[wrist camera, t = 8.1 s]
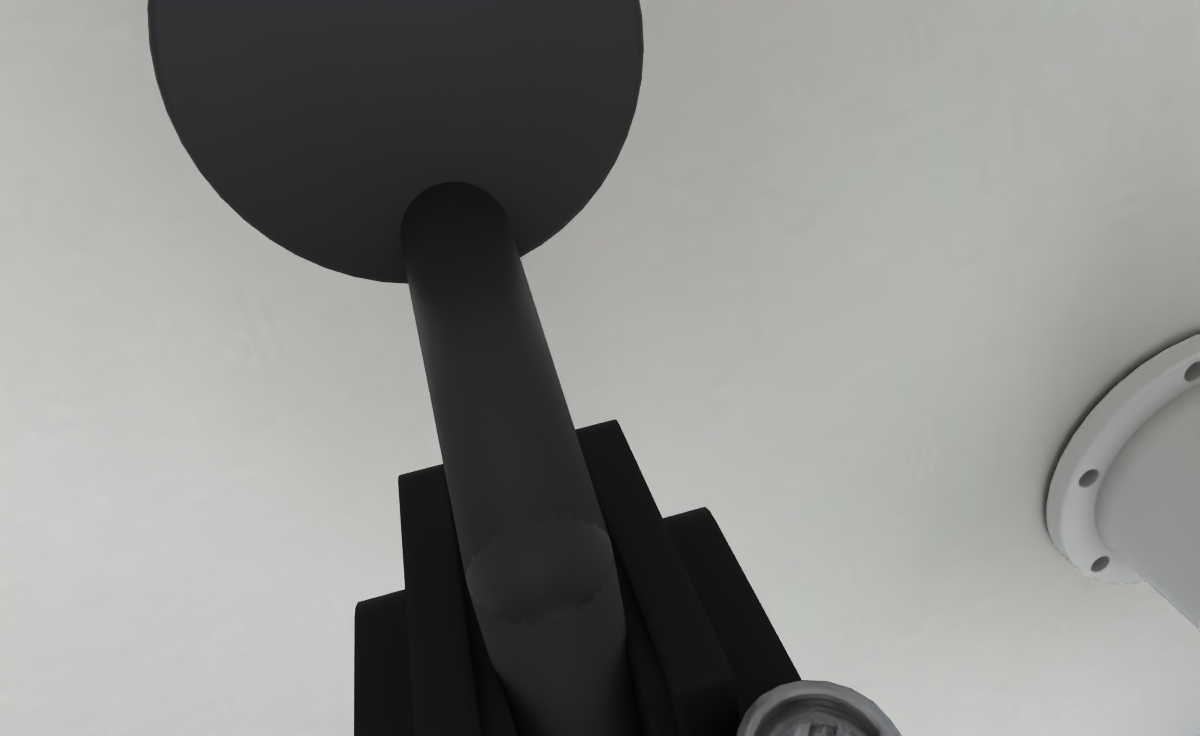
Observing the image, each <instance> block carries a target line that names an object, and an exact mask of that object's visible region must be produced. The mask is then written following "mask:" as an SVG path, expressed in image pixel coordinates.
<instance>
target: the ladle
mask: <svg viewBox="0 0 1200 736" xmlns="http://www.w3.org/2000/svg"><path fill="white" fill-rule="evenodd" d="M147 9H148V28H149V45H150V50H151V55H152V60H153V66H154V71H155V76H156V80H157V83H158V86H159V89H160V93H161V96H162V99H163V102H164V105H165V108H166V111H167V113H168V115H169V117H170V120H171V122H172V124H173V126H174V128H175V130H176V132H177V134H178V136H179V139H180V141H181V143H182V144H183V146H184V148H185V149H186V151H187V152H188V154H189V155H190V157H191V159H192V160H193V162H194V163H195V165H196V166H197V168H198V170H199V171H200V173H201V174H202V175H203V176H204V177H205V179H206V180H207V181H208V182H209V184H210V185H211V186H212V187H213V188H214V190H215V191H216V192H217V193H218V195H219V196H220V197H221V198H222V199H223V200H224V201H225V202H226V203H227V204H228V205H229V206H230V207H231V208H232V209H233V210H234V211H235V212H237V213H238V214H239V215H240V216H241V217H242V218H243V219H244V220H245V221H246V222H248V223H249V224H250V225H252V226H253V227H254V228H255V229H257V230H258V231H259V232H261V233H262V234H263V235H265V236H266V237H267V238H269V239H270V240H272V241H273V242H275V243H277V244H278V245H280V246H282V247H284V248H285V249H287V250H289V251H290V252H292V253H294V254H295V255H297V256H300V257H302V258H304V259H306V260H309V261H311V262H313V263H315V264H318V265H320V266H322V267H324V268H328V269H331V270H334V271H337V272H340V273H344V274H347V275H350V276H353V277H359V278H364V279H369V280H375V281H380V282H391V283H406V284H409V289H410V294H411V299H412V304H413V309H414V315H415V320H416V325H417V330H418V335H419V340H420V346H421V351H422V356H423V361H424V366H425V371H426V376H427V382H428V387H429V392H430V397H431V402H432V407H433V413H434V418H435V423H436V428H437V433H438V438H439V444H440V449H441V454H442V459H443V464H444V469H445V474H446V480H447V485H448V490H449V495H450V500H451V505H452V511H453V516H454V521H455V526H456V531H457V536H458V542H459V547H460V552H461V557H462V562H463V567H464V573H465V578H466V582H467V586H468V590H469V593H470V596H471V600H472V603H473V606H474V609H475V613H476V616H477V619H478V622H479V625H480V629H481V632H482V635H483V638H484V642H485V645H486V648H487V651H488V654H489V658H490V661H491V663H492V665H493V668H494V669H495V671H496V672H497V673H498V675H499V676H500V679H501V682H502V686H503V689H504V692H505V695H506V699H507V702H508V705H509V708H510V712H511V715H512V718H513V721H514V725H515V728H516V731H517V735H518V736H643V731H642V726H641V721H640V715H639V710H638V705H637V699H636V694H635V689H634V683H633V678H632V673H631V667H630V662H629V657H628V651H627V646H626V641H625V638H626V630H627V628H626V620H625V614H624V609H623V603H622V598H621V592H620V587H619V582H618V576H617V571H616V565H615V560H614V554H613V549H612V545H611V541H610V538H609V535H608V531H607V528H606V525H605V522H604V519H603V516H602V513H601V510H600V506H599V503H598V500H597V497H596V494H595V491H594V488H593V485H592V482H591V478H590V475H589V472H588V469H587V466H586V463H585V460H584V457H583V453H582V450H581V447H580V444H579V441H578V438H577V435H576V432H575V429H574V425H573V422H572V419H571V416H570V413H569V410H568V407H567V404H566V400H565V397H564V394H563V391H562V388H561V385H560V382H559V379H558V375H557V372H556V369H555V366H554V363H553V360H552V357H551V354H550V351H549V347H548V344H547V341H546V338H545V335H544V332H543V329H542V326H541V322H540V319H539V316H538V313H537V310H536V307H535V304H534V301H533V298H532V294H531V291H530V288H529V285H528V282H527V279H526V276H525V273H524V269H523V266H522V263H521V260H520V257H522V256H523V255H525V254H527V253H528V252H530V251H532V250H534V249H535V248H537V247H539V246H540V245H542V244H543V243H544V242H546V241H547V240H548V239H550V238H551V237H552V236H554V235H555V234H556V233H558V232H559V231H560V230H561V229H563V228H564V227H565V226H566V225H567V224H568V223H569V222H570V221H571V220H572V219H573V218H574V217H575V216H576V215H577V214H578V213H579V212H580V211H581V210H582V209H583V208H584V207H585V205H586V204H587V203H588V202H589V200H590V199H591V198H592V197H593V195H594V194H595V193H596V192H597V190H598V189H599V188H600V187H601V185H602V183H603V182H604V180H605V178H606V177H607V175H608V174H609V172H610V170H611V169H612V167H613V165H614V164H615V162H616V160H617V158H618V155H619V153H620V151H621V149H622V147H623V145H624V142H625V140H626V138H627V135H628V132H629V129H630V126H631V123H632V120H633V117H634V114H635V110H636V106H637V101H638V96H639V90H640V85H641V80H642V67H643V52H644V44H643V25H642V14H641V8H640V2H639V0H148V8H147Z"/></svg>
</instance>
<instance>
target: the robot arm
mask: <svg viewBox="0 0 1200 736" xmlns="http://www.w3.org/2000/svg"><path fill="white" fill-rule="evenodd" d="M575 432H576V435H577V438H578V441H579V444H580V447H581V450H582V453H583V457H584V460H585V463H586V466H587V469H588V472H589V475H590V478H591V482H592V485H593V488H594V491H595V494H596V497H597V500H598V503H599V506H600V510H601V513H602V516H603V519H604V522H605V525H606V528H607V531H608V535H609V538H610V541H611V545H612V549H613V554H614V560H615V565H616V571H617V576H618V582H619V587H620V592H621V598H622V603H623V609H624V614H625V620H626V628H627V630H626V638H625V641H626V646H627V651H628V657H629V662H630V667H631V673H632V678H633V683H634V689H635V694H636V699H637V705H638V710H639V715H640V721H641V726H642V731H643V736H902V735H901V734H900V732H899V731H898V730H897V728H896V727H895V725H894V724H893V723H892V721H891V720H890V719H889V718H888V717H887V716H886V715H885V713H884V712H883V711H882V710H881V709H880V708H879V707H878V706H877V705H876V704H875V703H874V702H873V701H871V700H870V699H868V698H866V697H865V696H863V695H861V694H860V693H858V692H856V691H855V690H853V689H851V688H848V687H845V686H842V685H838V684H835V683H832V682H828V681H811V680H801V678H800V676H799V674H798V672H797V670H796V669H795V667H794V665H793V663H792V661H791V659H790V657H789V656H788V654H787V652H786V650H785V648H784V646H783V645H782V643H781V641H780V639H779V637H778V635H777V633H776V632H775V630H774V628H773V626H772V624H771V622H770V620H769V619H768V617H767V615H766V613H765V611H764V609H763V607H762V606H761V604H760V602H759V600H758V598H757V596H756V595H755V593H754V591H753V589H752V587H751V585H750V583H749V582H748V580H747V578H746V576H745V574H744V572H743V570H742V569H741V567H740V565H739V563H738V561H737V559H736V557H735V556H734V554H733V552H732V550H731V548H730V546H729V545H728V543H727V541H726V539H725V537H724V535H723V533H722V532H721V530H720V528H719V526H718V524H717V522H716V520H715V519H714V517H713V516H712V514H711V512H710V511H709V510H708V509H707V508H706V507H703V508H699V509H695V510H692V511H688V512H684V513H681V514H677V515H673V516H670V517H666V518H662V516H661V514H660V512H659V510H658V508H657V506H656V503H655V501H654V499H653V497H652V495H651V492H650V490H649V488H648V486H647V484H646V482H645V479H644V477H643V475H642V473H641V471H640V469H639V466H638V464H637V462H636V460H635V458H634V456H633V453H632V451H631V449H630V447H629V445H628V443H627V440H626V438H625V436H624V434H623V432H622V430H621V427H620V425H619V423H618V422H617V420H611V421H607V422H603V423H599V424H595V425H591V426H588V427H584V428H580V429H576V430H575ZM398 486H399V501H400V517H401V532H402V547H403V563H404V578H405V590H401V591H397V592H394V593H390V594H386V595H383V596H379V597H376V598H372V599H368V600H365V601H361V602H358V603H357V606H356V608H355V656H354V736H518V735H517V731H516V728H515V725H514V721H513V718H512V715H511V712H510V708H509V705H508V702H507V699H506V695H505V692H504V689H503V686H502V682H501V679H500V676H499V675H498V673H497V672H496V671H495V669H494V668H493V665H492V663H491V661H490V658H489V654H488V651H487V648H486V645H485V642H484V638H483V635H482V632H481V629H480V625H479V622H478V619H477V616H476V613H475V609H474V606H473V603H472V600H471V596H470V593H469V590H468V586H467V582H466V578H465V573H464V567H463V562H462V557H461V552H460V547H459V542H458V536H457V531H456V526H455V521H454V516H453V511H452V505H451V500H450V495H449V490H448V485H447V480H446V474H445V469H444V464H441V465H437V466H433V467H429V468H425V469H422V470H418V471H414V472H410V473H406V474H402V475H399V477H398ZM1046 513H1047V527H1048V530H1049V533H1050V536H1051V539H1052V542H1053V544H1054V545H1055V547H1056V548H1057V549H1058V551H1059V552H1060V553H1061V555H1062V556H1063V557H1064V558H1065V559H1066V560H1068V561H1069V562H1070V563H1071V564H1072V565H1073V566H1074V567H1075V568H1076V569H1077V570H1078V571H1080V572H1081V573H1082V574H1084V575H1086V576H1088V577H1090V578H1092V579H1094V580H1096V581H1101V582H1107V583H1112V584H1131V583H1142V582H1147V583H1148V584H1149V585H1150V586H1152V587H1153V588H1154V589H1155V590H1156V591H1157V592H1158V593H1159V594H1160V595H1161V596H1163V597H1164V598H1165V599H1166V600H1167V601H1168V602H1169V603H1170V604H1171V605H1172V606H1174V607H1175V608H1176V609H1177V610H1178V611H1179V612H1180V613H1181V614H1182V615H1184V616H1185V617H1186V618H1187V619H1188V620H1189V621H1190V622H1191V623H1192V624H1193V625H1195V626H1196V627H1197V628H1198V629H1199V630H1200V334H1197V335H1194V336H1192V337H1190V338H1188V339H1186V340H1184V341H1182V342H1180V343H1177V344H1175V345H1173V346H1171V347H1169V348H1167V349H1165V350H1164V351H1162V352H1161V353H1159V354H1158V355H1156V356H1154V357H1153V358H1151V359H1150V360H1148V361H1147V362H1145V363H1144V364H1142V365H1140V366H1139V367H1138V368H1137V369H1135V370H1134V371H1133V372H1132V373H1131V374H1129V375H1128V376H1127V377H1126V378H1124V379H1123V380H1122V381H1121V382H1120V383H1118V384H1117V385H1116V386H1115V387H1114V388H1113V389H1112V390H1111V391H1110V392H1109V393H1108V394H1107V395H1106V396H1105V397H1104V398H1103V399H1102V400H1101V401H1100V402H1099V403H1098V404H1097V405H1096V406H1095V407H1094V408H1093V410H1092V411H1091V412H1090V413H1089V415H1088V416H1087V417H1086V419H1085V420H1084V421H1083V423H1082V424H1081V425H1080V427H1079V428H1078V429H1077V431H1076V432H1075V433H1074V435H1073V436H1072V438H1071V440H1070V442H1069V443H1068V445H1067V447H1066V449H1065V451H1064V452H1063V454H1062V456H1061V458H1060V460H1059V462H1058V465H1057V468H1056V470H1055V473H1054V475H1053V478H1052V481H1051V484H1050V489H1049V494H1048V500H1047V505H1046Z"/></svg>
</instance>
